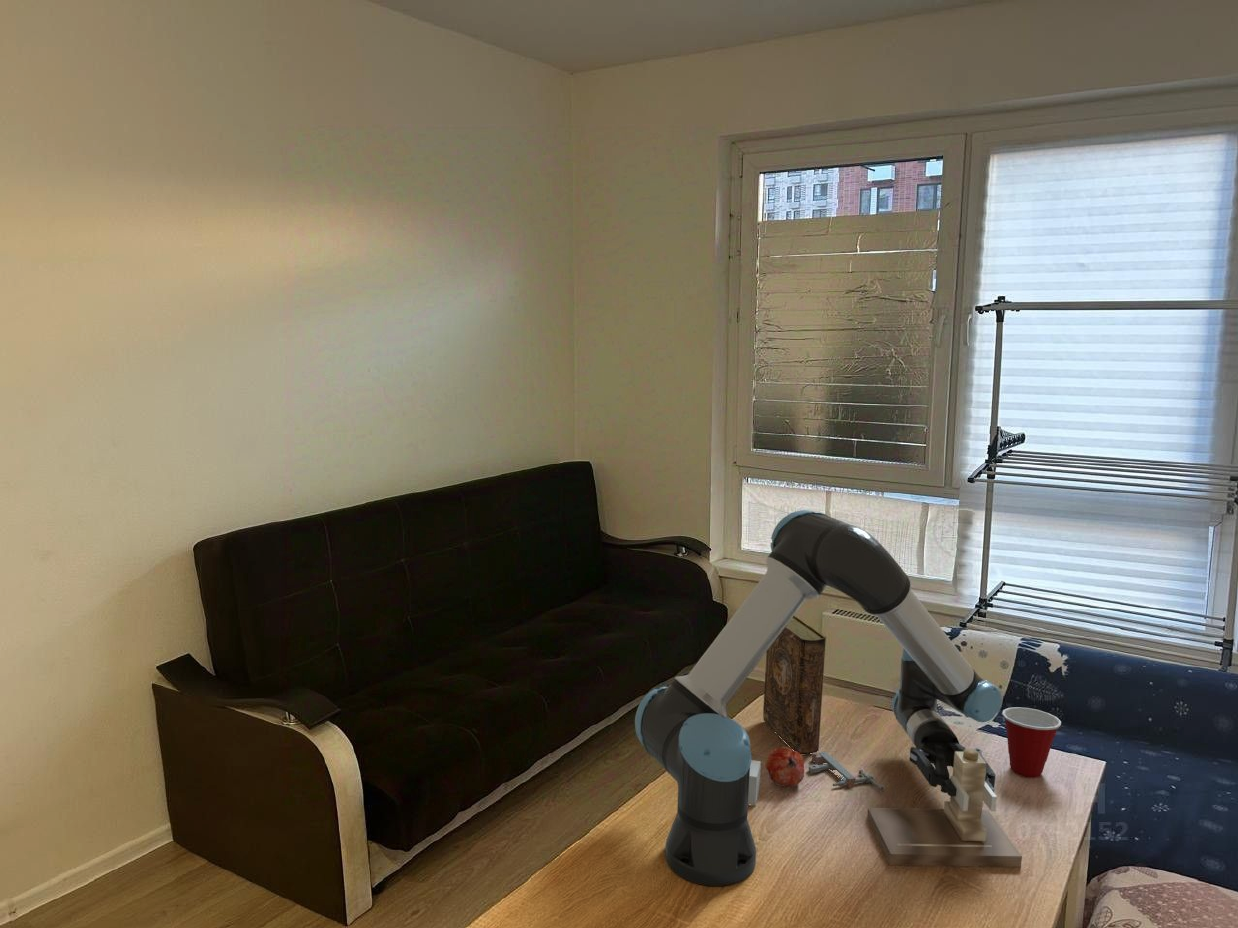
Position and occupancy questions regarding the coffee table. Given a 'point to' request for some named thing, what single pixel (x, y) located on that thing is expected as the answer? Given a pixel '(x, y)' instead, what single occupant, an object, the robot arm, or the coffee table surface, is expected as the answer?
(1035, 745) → the plastic cup
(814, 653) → the book
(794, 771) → the pomegranate
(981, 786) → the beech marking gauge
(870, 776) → the clamp
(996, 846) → the grey flat plate
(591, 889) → the coffee table surface
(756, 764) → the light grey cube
